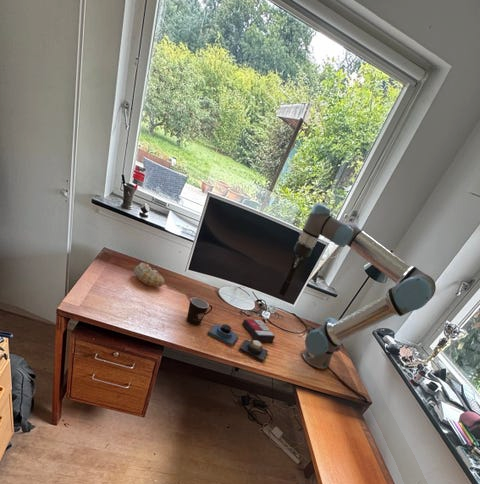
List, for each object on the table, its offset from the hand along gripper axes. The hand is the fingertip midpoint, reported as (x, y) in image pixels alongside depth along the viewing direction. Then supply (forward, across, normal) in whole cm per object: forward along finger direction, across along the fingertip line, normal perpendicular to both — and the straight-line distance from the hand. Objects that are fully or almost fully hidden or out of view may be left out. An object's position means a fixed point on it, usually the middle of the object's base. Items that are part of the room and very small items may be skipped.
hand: (281, 294), depth 160 cm
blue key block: (+24, +18, -16) cm, 34 cm away
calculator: (+24, 0, -3) cm, 24 cm away
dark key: (+21, +18, -16) cm, 32 cm away
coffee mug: (+24, +18, -30) cm, 42 cm away
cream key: (+21, +19, 0) cm, 28 cm away
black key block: (+24, +18, 0) cm, 30 cm away
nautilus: (+23, +2, -64) cm, 68 cm away
